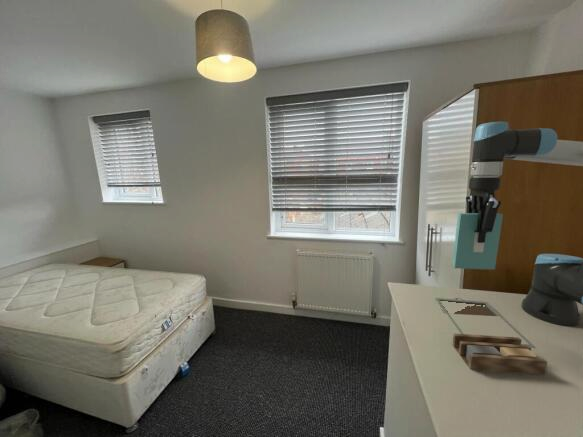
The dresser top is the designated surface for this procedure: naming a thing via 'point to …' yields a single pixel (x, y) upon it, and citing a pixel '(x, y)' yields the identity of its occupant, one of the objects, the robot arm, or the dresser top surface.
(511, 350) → the offcut oak
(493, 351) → the offcut charcoal
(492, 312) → the framed cork board
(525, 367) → the rack
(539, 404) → the dresser top surface
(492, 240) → the teal rectangular slab
